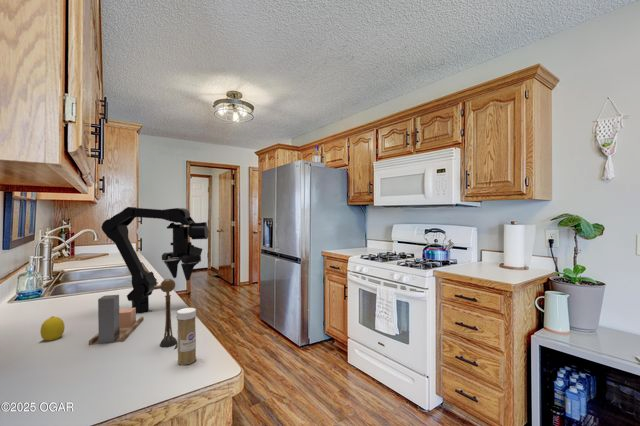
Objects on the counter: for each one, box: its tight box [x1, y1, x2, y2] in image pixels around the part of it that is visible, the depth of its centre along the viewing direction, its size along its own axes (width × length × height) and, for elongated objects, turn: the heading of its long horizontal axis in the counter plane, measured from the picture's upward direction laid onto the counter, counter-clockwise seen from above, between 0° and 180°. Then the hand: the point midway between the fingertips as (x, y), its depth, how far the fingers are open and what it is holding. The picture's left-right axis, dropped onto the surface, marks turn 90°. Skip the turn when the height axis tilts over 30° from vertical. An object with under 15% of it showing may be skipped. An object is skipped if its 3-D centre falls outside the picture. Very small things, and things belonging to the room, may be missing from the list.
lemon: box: [40, 315, 65, 342], centre depth 93 cm, size 6×6×8 cm
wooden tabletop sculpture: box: [153, 278, 178, 350], centre depth 87 cm, size 6×5×20 cm
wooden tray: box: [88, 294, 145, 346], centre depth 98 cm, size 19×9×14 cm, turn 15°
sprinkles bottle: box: [176, 307, 197, 366], centre depth 79 cm, size 5×5×14 cm
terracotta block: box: [119, 307, 137, 328], centre depth 103 cm, size 5×5×5 cm
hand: (181, 279), depth 120 cm, fingers open, 9 cm apart
